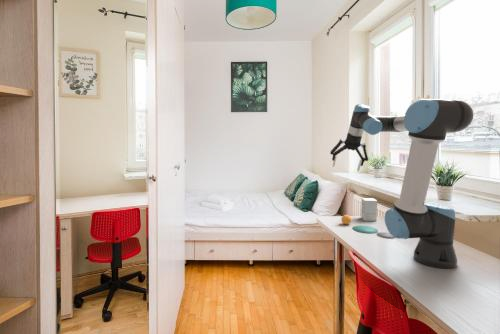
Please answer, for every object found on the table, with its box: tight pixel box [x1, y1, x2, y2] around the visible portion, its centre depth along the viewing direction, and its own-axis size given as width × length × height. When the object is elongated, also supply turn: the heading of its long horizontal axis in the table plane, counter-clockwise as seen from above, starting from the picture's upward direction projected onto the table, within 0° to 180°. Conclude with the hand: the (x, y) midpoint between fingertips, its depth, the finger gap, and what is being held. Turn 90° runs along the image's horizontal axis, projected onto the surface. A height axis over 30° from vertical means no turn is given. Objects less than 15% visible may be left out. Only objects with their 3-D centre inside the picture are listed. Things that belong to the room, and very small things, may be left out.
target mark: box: [352, 225, 379, 234], centre depth 161 cm, size 13×13×1 cm
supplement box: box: [360, 197, 378, 222], centre depth 180 cm, size 7×7×13 cm
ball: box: [341, 214, 352, 225], centre depth 170 cm, size 6×6×6 cm
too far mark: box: [376, 231, 396, 239], centre depth 151 cm, size 9×9×1 cm
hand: (345, 167), depth 167 cm, fingers open, 13 cm apart
